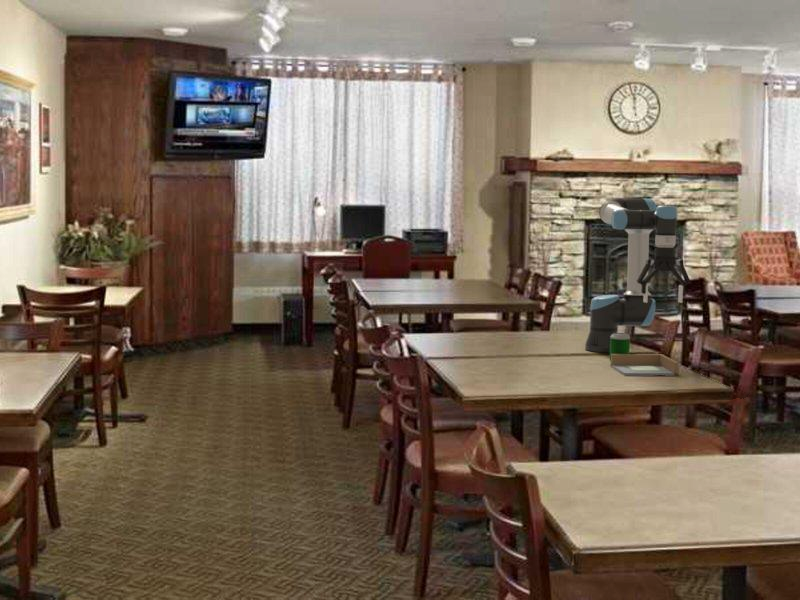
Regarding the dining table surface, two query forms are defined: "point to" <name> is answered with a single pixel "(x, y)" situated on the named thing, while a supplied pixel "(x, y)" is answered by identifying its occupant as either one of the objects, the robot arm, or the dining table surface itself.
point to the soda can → (619, 344)
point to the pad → (643, 368)
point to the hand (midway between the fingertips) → (662, 302)
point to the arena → (644, 364)
